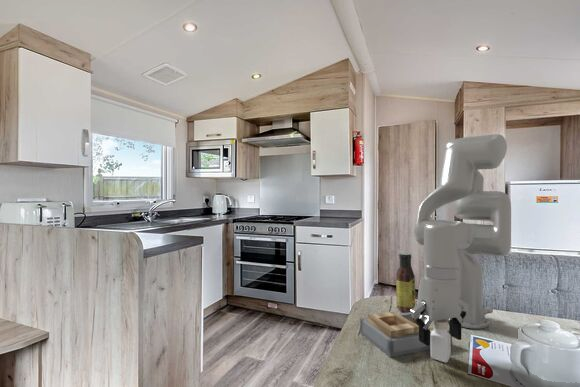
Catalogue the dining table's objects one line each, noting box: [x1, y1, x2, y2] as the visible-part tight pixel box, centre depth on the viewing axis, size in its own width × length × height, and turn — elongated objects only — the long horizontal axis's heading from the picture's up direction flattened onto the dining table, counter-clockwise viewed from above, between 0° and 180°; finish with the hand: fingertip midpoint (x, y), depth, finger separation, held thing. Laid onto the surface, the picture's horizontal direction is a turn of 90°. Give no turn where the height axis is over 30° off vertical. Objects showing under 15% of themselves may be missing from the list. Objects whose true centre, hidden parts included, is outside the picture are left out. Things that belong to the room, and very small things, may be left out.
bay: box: [359, 312, 453, 358], centre depth 86 cm, size 20×14×4 cm
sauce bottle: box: [395, 252, 416, 313], centre depth 108 cm, size 6×6×20 cm
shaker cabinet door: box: [367, 311, 419, 339], centre depth 85 cm, size 9×11×4 cm
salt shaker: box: [430, 319, 452, 363], centre depth 76 cm, size 4×4×10 cm
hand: (440, 340), depth 76 cm, fingers open, 9 cm apart
